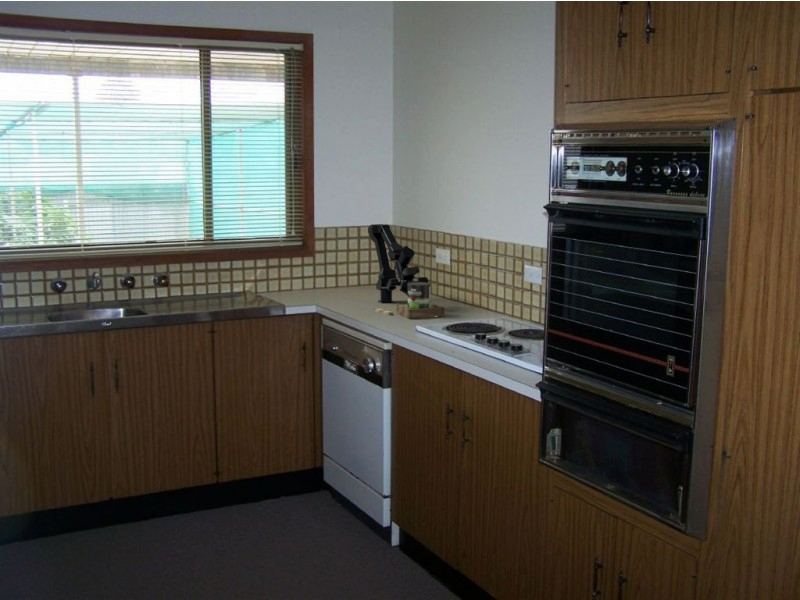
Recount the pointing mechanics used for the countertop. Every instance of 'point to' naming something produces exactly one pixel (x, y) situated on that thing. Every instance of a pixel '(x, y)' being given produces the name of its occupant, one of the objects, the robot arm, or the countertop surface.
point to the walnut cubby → (421, 311)
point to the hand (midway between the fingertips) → (412, 298)
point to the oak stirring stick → (383, 311)
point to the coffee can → (418, 295)
